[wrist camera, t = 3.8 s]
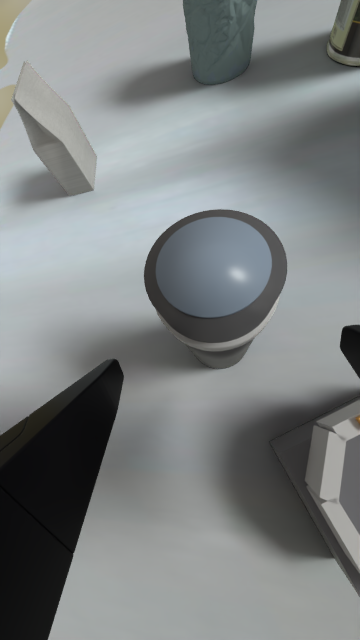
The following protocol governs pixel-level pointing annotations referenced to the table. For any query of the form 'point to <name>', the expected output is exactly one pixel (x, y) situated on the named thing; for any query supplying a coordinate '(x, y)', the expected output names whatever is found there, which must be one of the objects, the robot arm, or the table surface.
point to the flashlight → (216, 282)
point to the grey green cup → (219, 37)
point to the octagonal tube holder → (329, 479)
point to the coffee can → (346, 34)
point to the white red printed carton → (55, 132)
